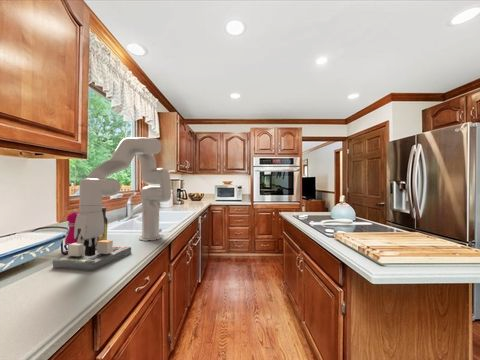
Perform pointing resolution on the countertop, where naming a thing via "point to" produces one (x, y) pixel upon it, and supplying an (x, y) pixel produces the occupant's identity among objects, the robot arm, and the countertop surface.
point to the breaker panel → (91, 260)
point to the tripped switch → (105, 246)
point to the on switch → (76, 249)
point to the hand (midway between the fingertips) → (90, 255)
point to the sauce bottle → (104, 235)
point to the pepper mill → (71, 227)
